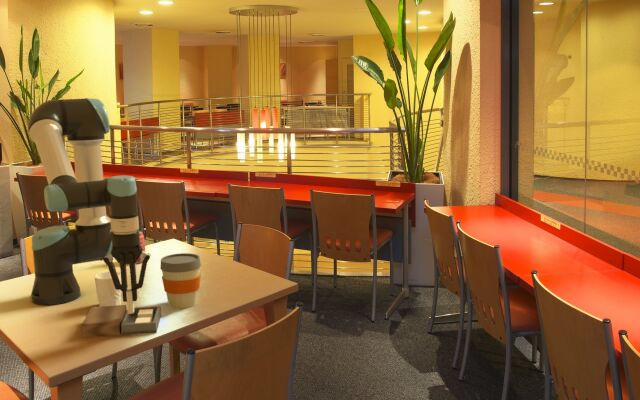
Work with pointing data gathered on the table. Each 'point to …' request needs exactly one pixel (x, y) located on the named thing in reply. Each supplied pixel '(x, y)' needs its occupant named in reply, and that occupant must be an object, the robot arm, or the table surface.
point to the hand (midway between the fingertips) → (131, 311)
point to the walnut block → (104, 321)
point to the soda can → (142, 244)
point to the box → (140, 328)
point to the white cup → (107, 290)
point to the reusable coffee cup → (181, 279)
